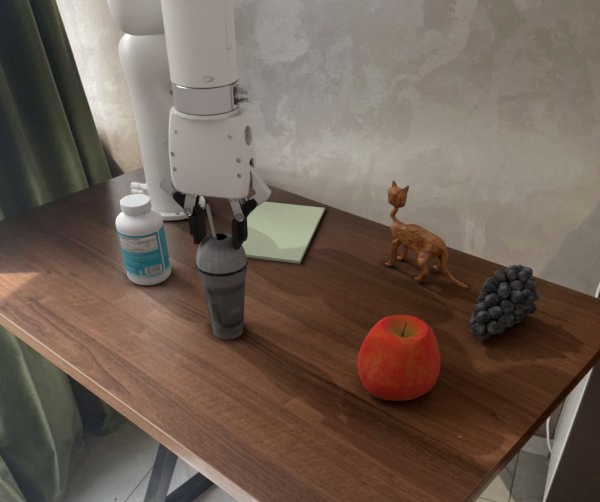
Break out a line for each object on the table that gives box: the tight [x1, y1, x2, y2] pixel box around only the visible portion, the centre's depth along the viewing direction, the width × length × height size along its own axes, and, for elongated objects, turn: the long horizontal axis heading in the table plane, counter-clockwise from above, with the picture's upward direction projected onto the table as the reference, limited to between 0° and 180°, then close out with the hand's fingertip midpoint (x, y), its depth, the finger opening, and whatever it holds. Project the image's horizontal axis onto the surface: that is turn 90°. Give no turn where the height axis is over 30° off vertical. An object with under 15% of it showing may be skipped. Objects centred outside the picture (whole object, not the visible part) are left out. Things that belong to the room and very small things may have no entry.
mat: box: [242, 201, 326, 265], centre depth 115 cm, size 14×22×1 cm, turn 167°
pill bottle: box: [115, 194, 172, 286], centre depth 98 cm, size 8×7×14 cm
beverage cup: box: [195, 203, 249, 340], centre depth 84 cm, size 7×7×20 cm
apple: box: [357, 314, 442, 402], centre depth 78 cm, size 11×11×11 cm
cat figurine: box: [383, 179, 470, 290], centre depth 99 cm, size 18×7×14 cm, turn 46°
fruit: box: [469, 264, 541, 341], centre depth 90 cm, size 9×8×15 cm
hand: (219, 240), depth 81 cm, fingers open, 4 cm apart
